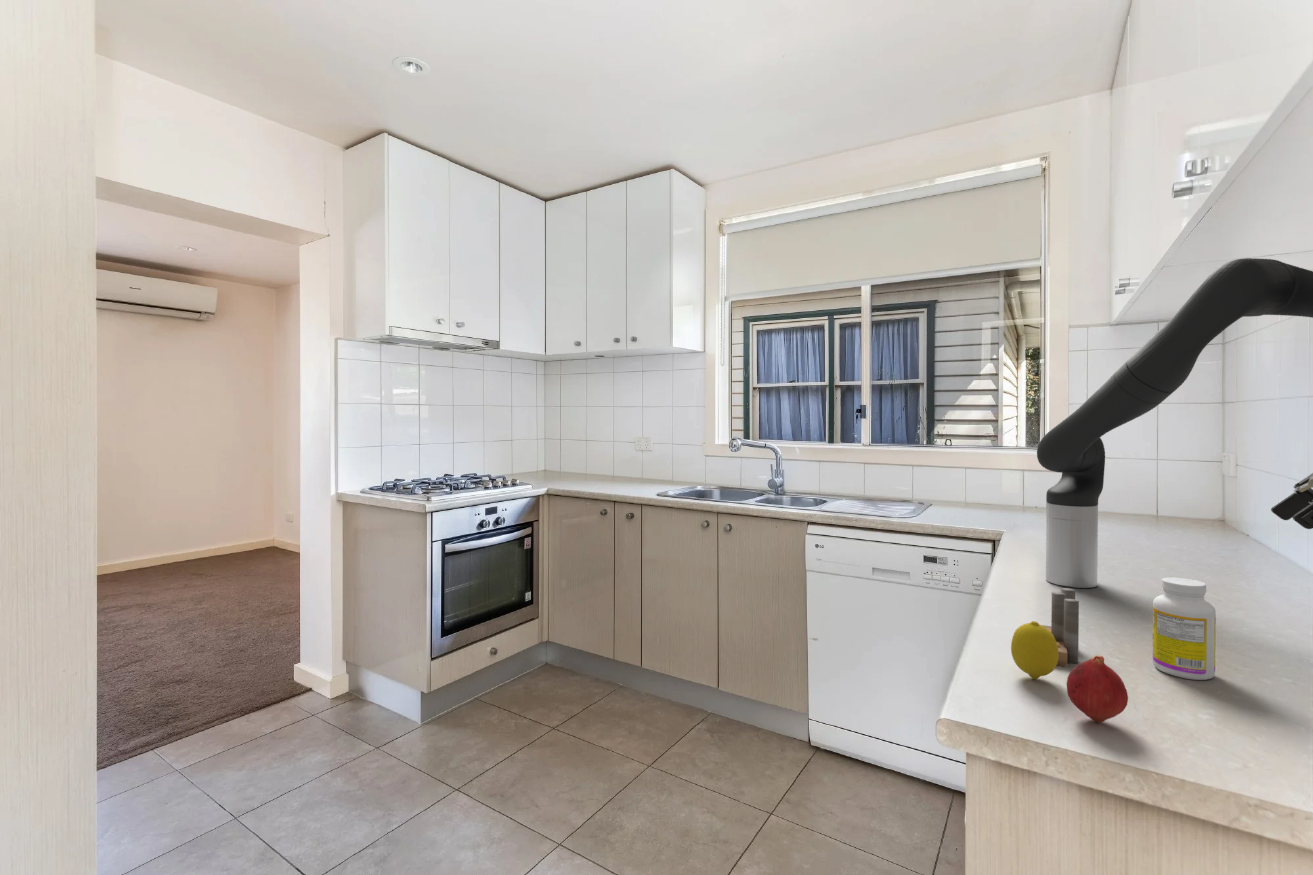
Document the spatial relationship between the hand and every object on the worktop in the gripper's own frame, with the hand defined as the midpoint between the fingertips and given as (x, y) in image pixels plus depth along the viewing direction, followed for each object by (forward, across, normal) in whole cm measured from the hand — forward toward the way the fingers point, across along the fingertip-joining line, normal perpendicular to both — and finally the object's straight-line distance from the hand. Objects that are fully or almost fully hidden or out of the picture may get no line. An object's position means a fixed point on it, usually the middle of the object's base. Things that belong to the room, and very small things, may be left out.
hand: (1288, 519), depth 83 cm
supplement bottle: (+24, +7, +6) cm, 26 cm away
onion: (+32, +30, -2) cm, 44 cm away
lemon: (+36, +20, -6) cm, 42 cm away
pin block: (+35, +7, -5) cm, 36 cm away
